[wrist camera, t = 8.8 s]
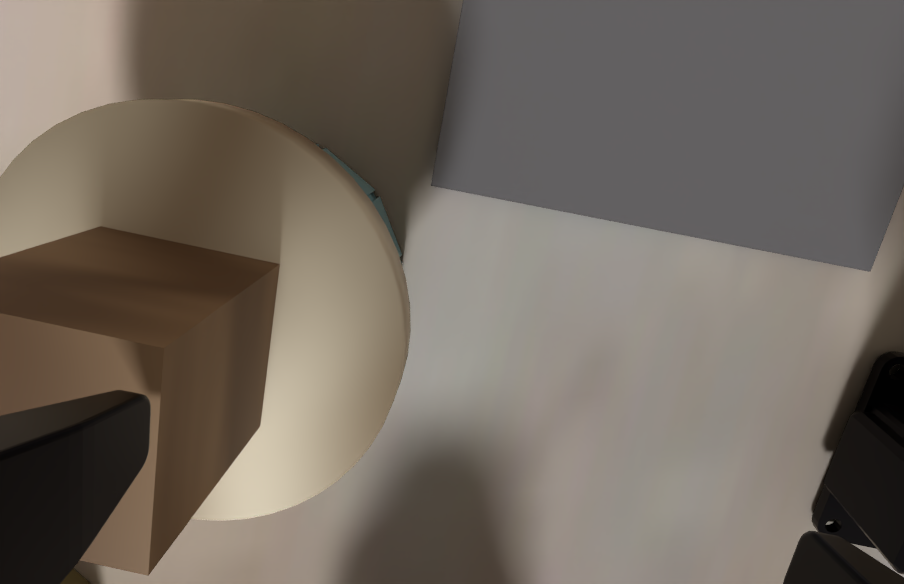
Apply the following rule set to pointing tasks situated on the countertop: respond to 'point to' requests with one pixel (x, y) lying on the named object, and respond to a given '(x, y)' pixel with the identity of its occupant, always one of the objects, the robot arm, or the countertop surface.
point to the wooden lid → (201, 307)
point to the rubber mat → (687, 117)
